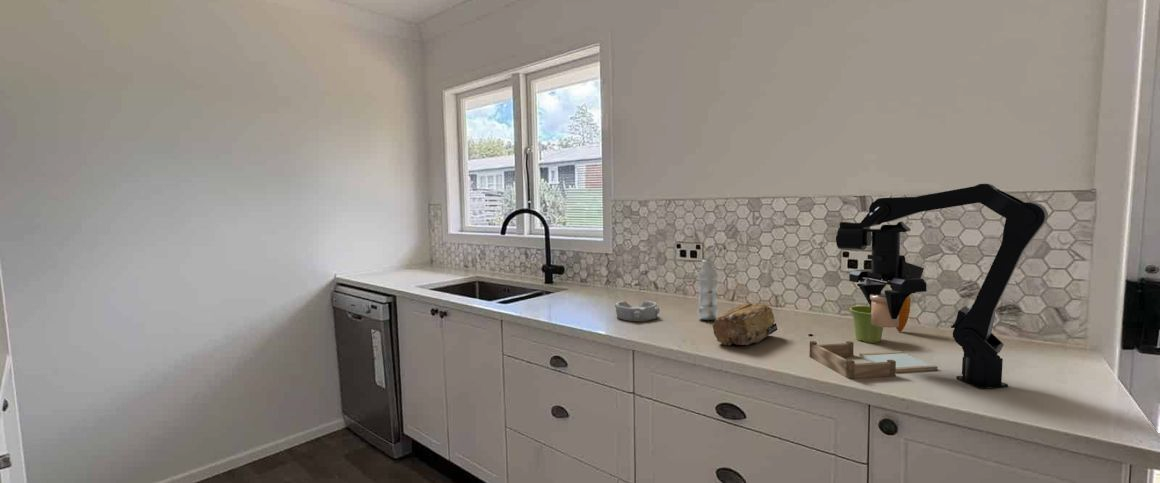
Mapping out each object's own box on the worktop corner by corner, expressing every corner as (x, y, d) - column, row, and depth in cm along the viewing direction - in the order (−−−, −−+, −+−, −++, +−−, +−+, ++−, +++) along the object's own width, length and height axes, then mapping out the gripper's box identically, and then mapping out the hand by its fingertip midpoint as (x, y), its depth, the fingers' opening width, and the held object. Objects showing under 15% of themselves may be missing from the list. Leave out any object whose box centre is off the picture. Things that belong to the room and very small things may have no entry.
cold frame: (895, 376, 116) (895, 358, 115) (849, 378, 115) (849, 361, 114) (850, 354, 132) (850, 338, 131) (809, 356, 131) (809, 341, 130)
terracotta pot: (906, 326, 120) (906, 296, 120) (882, 328, 120) (882, 298, 119) (887, 320, 126) (887, 292, 126) (863, 322, 126) (864, 293, 125)
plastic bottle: (693, 319, 173) (692, 259, 171) (709, 316, 175) (709, 258, 174) (705, 323, 167) (705, 261, 165) (722, 320, 170) (722, 260, 168)
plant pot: (893, 345, 138) (894, 313, 138) (855, 344, 140) (855, 312, 139) (880, 336, 147) (881, 306, 147) (844, 335, 149) (845, 305, 149)
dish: (610, 315, 182) (610, 301, 181) (646, 311, 186) (646, 298, 185) (626, 324, 168) (626, 309, 167) (665, 320, 172) (665, 306, 171)
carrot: (891, 328, 155) (892, 279, 153) (910, 331, 152) (912, 280, 150) (888, 332, 151) (889, 281, 150) (908, 335, 148) (909, 283, 146)
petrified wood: (753, 351, 135) (744, 313, 135) (708, 352, 144) (701, 317, 144) (780, 332, 150) (772, 299, 150) (738, 335, 158) (731, 303, 159)
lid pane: (937, 369, 119) (937, 366, 119) (892, 372, 118) (893, 369, 118) (900, 354, 131) (900, 351, 131) (859, 356, 130) (859, 353, 130)
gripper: (949, 252, 113) (948, 322, 115) (888, 246, 132) (887, 306, 133) (903, 255, 112) (902, 326, 113) (848, 248, 130) (847, 309, 132)
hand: (885, 316), depth 123 cm, fingers closed on terracotta pot, 6 cm apart
